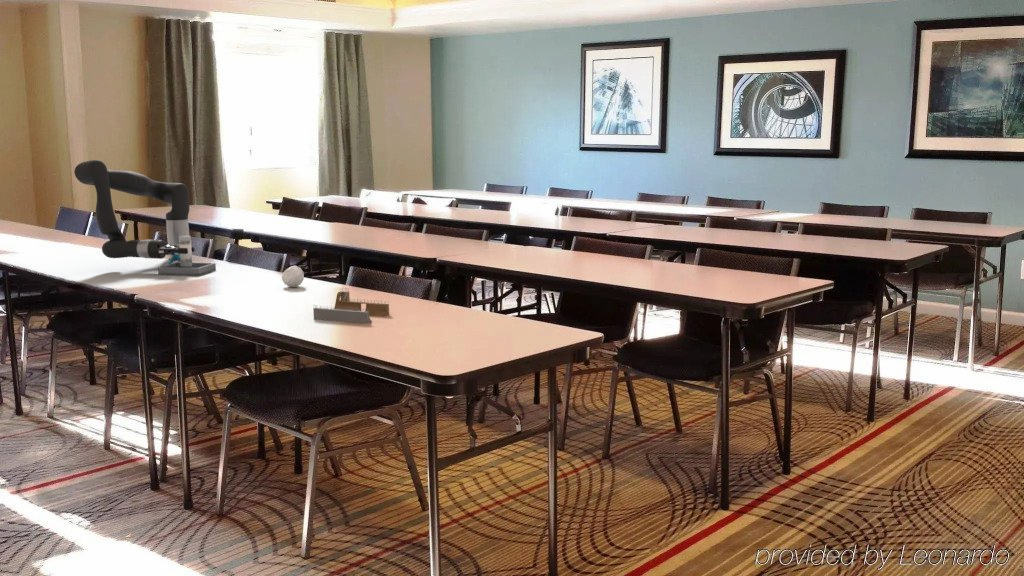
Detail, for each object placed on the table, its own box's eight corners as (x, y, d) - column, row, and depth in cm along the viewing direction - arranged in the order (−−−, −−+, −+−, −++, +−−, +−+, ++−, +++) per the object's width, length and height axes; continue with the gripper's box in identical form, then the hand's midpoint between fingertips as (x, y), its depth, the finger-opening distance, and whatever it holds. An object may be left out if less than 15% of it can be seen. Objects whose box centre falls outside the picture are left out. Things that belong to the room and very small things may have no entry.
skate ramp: (290, 323, 287) (289, 299, 285) (350, 302, 319) (349, 280, 318) (375, 330, 276) (374, 305, 275) (427, 308, 309) (427, 285, 307)
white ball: (278, 287, 344) (277, 266, 342) (293, 284, 350) (292, 263, 348) (293, 289, 339) (292, 268, 338) (309, 286, 345) (308, 265, 344)
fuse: (184, 265, 380) (182, 235, 378) (194, 265, 379) (193, 235, 377) (178, 266, 376) (176, 236, 373) (188, 267, 375) (187, 237, 373)
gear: (188, 262, 394) (169, 246, 390) (179, 273, 392) (159, 257, 389) (185, 262, 404) (166, 247, 400) (176, 272, 402) (157, 257, 399)
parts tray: (176, 269, 386) (175, 262, 386) (215, 270, 383) (215, 263, 382) (158, 274, 373) (157, 267, 372) (199, 275, 370) (198, 268, 369)
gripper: (141, 242, 371) (180, 243, 368) (160, 237, 385) (199, 238, 382) (142, 260, 373) (181, 262, 370) (162, 255, 387) (200, 256, 383)
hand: (190, 250), depth 376 cm, fingers closed on fuse, 4 cm apart
